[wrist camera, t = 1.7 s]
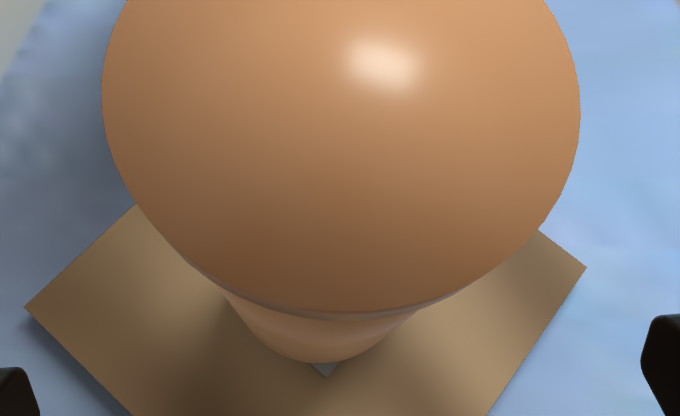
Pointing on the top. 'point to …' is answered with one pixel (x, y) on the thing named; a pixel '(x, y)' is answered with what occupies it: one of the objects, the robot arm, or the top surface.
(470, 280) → the container with domed lid
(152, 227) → the thin square board
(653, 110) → the top surface
